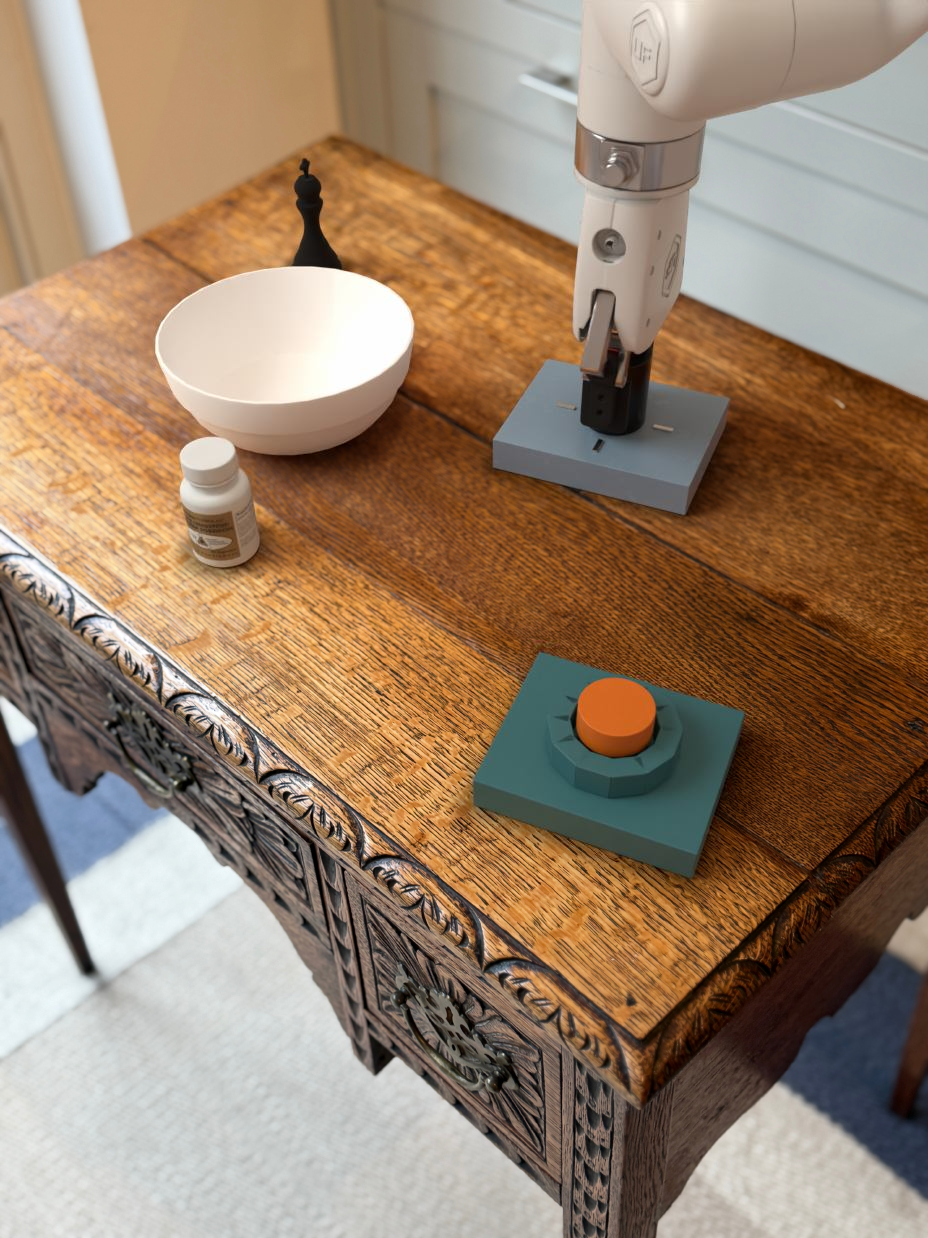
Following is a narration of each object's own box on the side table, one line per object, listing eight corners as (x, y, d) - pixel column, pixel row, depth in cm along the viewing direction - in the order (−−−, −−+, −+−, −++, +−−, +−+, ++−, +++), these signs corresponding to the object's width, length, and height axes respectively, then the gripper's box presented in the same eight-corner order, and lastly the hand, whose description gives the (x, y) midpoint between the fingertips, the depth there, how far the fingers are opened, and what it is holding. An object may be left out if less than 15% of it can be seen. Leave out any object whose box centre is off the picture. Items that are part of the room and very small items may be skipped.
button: (662, 712, 62) (665, 690, 61) (639, 767, 60) (643, 745, 59) (590, 690, 64) (592, 668, 62) (565, 744, 61) (567, 722, 60)
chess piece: (283, 278, 103) (268, 165, 96) (303, 254, 106) (290, 144, 99) (330, 285, 102) (318, 172, 95) (349, 261, 105) (339, 150, 98)
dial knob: (652, 407, 84) (661, 335, 80) (634, 441, 81) (642, 369, 77) (593, 394, 85) (599, 323, 81) (573, 427, 82) (578, 355, 78)
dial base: (725, 426, 87) (730, 396, 85) (685, 515, 79) (689, 484, 78) (546, 386, 91) (547, 356, 89) (492, 467, 84) (492, 437, 82)
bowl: (127, 464, 84) (104, 377, 79) (239, 333, 97) (225, 251, 92) (366, 512, 80) (358, 424, 75) (451, 369, 92) (449, 285, 87)
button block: (739, 737, 66) (751, 689, 63) (692, 880, 59) (702, 833, 57) (538, 676, 69) (540, 628, 66) (472, 805, 63) (471, 758, 60)
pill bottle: (180, 560, 77) (157, 465, 72) (215, 519, 80) (195, 425, 74) (239, 576, 76) (220, 481, 70) (272, 534, 79) (256, 440, 73)
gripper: (660, 221, 63) (631, 489, 76) (734, 104, 74) (697, 355, 87) (529, 198, 65) (522, 463, 78) (619, 88, 76) (600, 336, 89)
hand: (614, 404), depth 82 cm, fingers closed on dial knob, 4 cm apart
